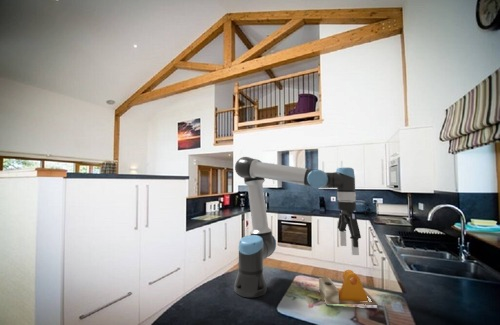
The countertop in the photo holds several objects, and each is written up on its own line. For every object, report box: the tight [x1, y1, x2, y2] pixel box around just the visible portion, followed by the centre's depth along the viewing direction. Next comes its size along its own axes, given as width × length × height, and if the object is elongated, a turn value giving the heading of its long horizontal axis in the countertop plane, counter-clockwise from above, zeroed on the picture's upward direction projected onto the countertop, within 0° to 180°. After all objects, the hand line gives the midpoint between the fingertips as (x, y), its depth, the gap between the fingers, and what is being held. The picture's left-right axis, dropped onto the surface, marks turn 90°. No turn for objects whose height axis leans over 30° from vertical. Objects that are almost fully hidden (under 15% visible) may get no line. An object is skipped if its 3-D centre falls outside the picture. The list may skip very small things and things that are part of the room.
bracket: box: [338, 269, 369, 302], centre depth 89 cm, size 11×7×12 cm, turn 85°
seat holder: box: [318, 277, 379, 306], centre depth 89 cm, size 20×12×6 cm, turn 85°
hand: (348, 250), depth 91 cm, fingers open, 13 cm apart
